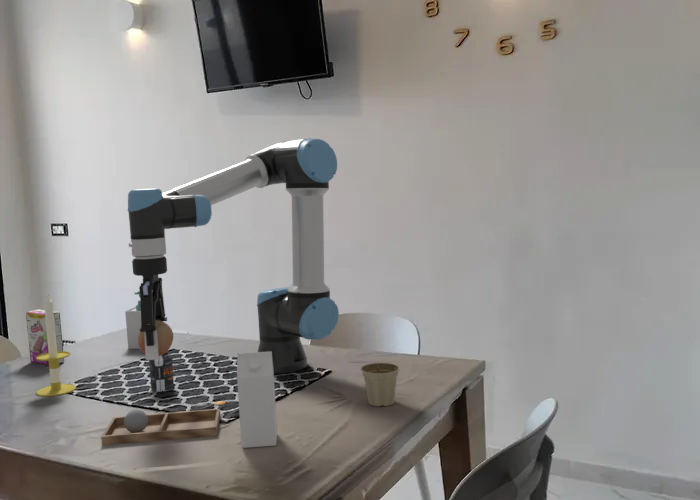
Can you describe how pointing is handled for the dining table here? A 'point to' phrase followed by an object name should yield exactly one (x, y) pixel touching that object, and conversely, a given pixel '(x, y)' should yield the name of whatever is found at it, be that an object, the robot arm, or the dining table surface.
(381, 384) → the flower pot
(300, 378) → the dining table surface
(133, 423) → the grey ball
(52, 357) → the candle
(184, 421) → the divided wooden tray
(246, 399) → the milk carton
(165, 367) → the pill bottle
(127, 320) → the soap bottle
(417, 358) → the dining table surface
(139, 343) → the fruit
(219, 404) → the tile
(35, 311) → the candy bar box
